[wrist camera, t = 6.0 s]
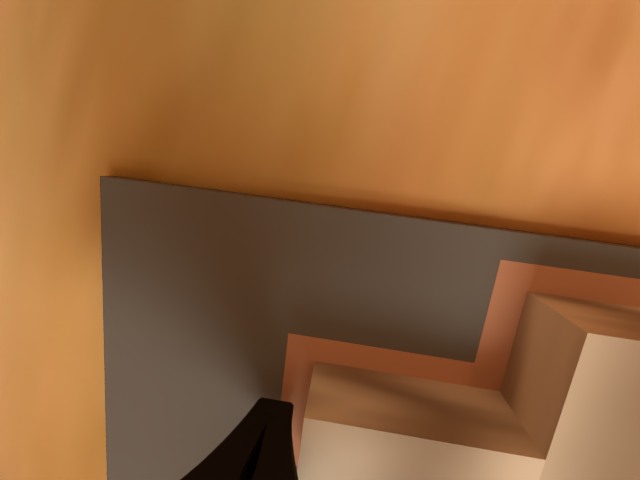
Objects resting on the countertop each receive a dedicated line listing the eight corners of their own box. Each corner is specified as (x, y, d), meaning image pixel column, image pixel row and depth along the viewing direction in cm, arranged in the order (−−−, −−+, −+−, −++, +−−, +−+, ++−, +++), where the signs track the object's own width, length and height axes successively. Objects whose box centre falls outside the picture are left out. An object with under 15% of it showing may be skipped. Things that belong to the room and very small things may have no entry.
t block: (293, 522, 15) (278, 611, 12) (328, 262, 12) (320, 292, 9) (551, 572, 14) (604, 680, 11) (648, 308, 11) (753, 357, 8)
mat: (116, 507, 16) (107, 520, 16) (111, 175, 13) (99, 176, 12) (561, 596, 15) (570, 614, 14) (694, 254, 11) (713, 259, 11)
